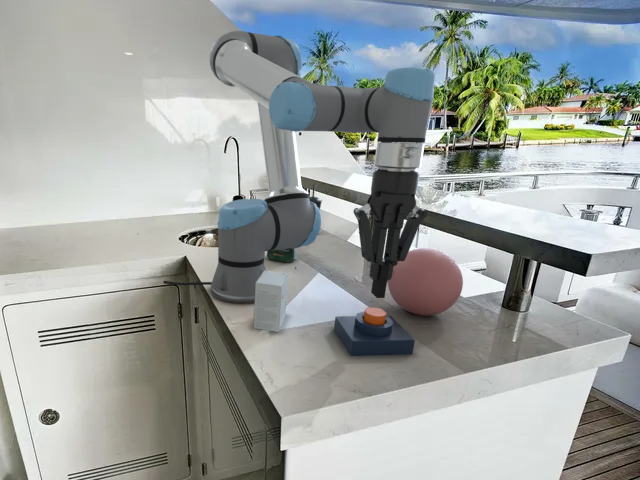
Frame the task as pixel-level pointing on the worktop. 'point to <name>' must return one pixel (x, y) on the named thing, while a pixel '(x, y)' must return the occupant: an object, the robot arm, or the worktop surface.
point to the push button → (373, 336)
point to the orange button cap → (374, 316)
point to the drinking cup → (315, 198)
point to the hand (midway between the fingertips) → (377, 295)
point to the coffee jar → (283, 254)
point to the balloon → (426, 282)
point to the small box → (270, 300)
